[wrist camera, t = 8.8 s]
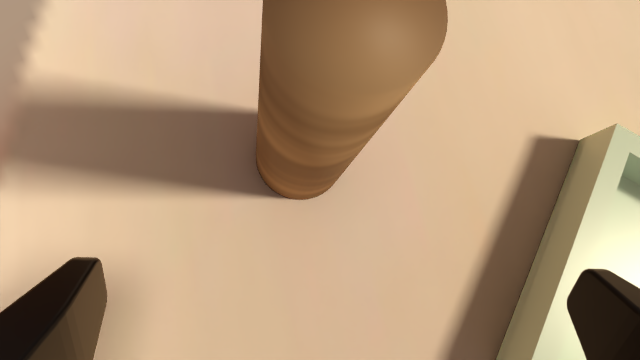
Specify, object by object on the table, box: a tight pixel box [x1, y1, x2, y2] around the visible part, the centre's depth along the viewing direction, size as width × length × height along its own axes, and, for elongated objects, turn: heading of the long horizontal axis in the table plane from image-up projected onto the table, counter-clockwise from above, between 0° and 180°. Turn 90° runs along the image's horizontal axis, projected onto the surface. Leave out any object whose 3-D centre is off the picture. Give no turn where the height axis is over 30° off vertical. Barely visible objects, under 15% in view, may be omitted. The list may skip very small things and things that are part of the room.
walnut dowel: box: [256, 0, 448, 200], centre depth 16 cm, size 4×4×12 cm
